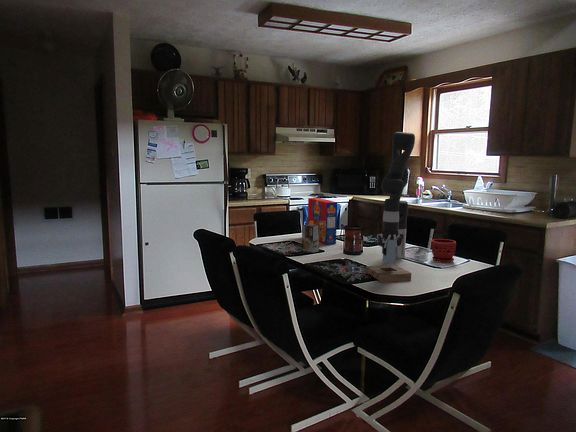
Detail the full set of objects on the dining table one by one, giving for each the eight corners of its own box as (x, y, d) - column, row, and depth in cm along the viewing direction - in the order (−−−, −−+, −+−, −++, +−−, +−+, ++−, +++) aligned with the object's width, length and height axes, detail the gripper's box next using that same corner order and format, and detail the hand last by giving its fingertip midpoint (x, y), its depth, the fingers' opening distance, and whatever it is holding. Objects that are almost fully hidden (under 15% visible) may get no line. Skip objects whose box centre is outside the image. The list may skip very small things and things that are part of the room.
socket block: (365, 272, 211) (366, 266, 211) (394, 270, 215) (394, 264, 215) (380, 282, 196) (381, 275, 195) (411, 280, 200) (411, 273, 200)
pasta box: (307, 236, 299) (308, 198, 295) (317, 236, 302) (318, 197, 298) (325, 244, 273) (326, 202, 269) (335, 244, 276) (337, 202, 272)
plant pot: (457, 260, 238) (458, 240, 236) (451, 265, 227) (453, 244, 226) (433, 257, 245) (435, 237, 244) (427, 261, 235) (428, 240, 233)
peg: (382, 262, 206) (383, 238, 204) (390, 261, 207) (391, 238, 205) (386, 264, 202) (388, 240, 200) (395, 264, 203) (396, 239, 201)
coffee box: (319, 251, 256) (320, 225, 253) (312, 252, 251) (313, 226, 249) (307, 248, 262) (308, 223, 259) (301, 250, 257) (301, 224, 255)
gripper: (400, 218, 207) (398, 252, 209) (373, 219, 203) (372, 253, 206) (408, 221, 200) (406, 255, 202) (381, 221, 196) (379, 257, 199)
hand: (389, 254), depth 204 cm, fingers closed on peg, 4 cm apart
